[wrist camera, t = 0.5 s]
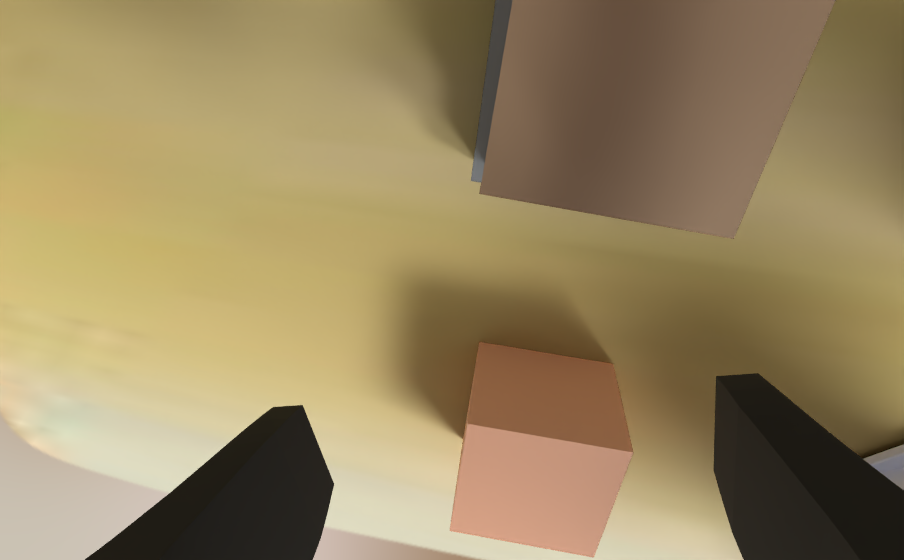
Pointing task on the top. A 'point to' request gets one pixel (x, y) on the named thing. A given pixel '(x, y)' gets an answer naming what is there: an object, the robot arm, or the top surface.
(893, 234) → the top surface
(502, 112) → the tower top
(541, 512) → the block
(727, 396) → the robot arm
